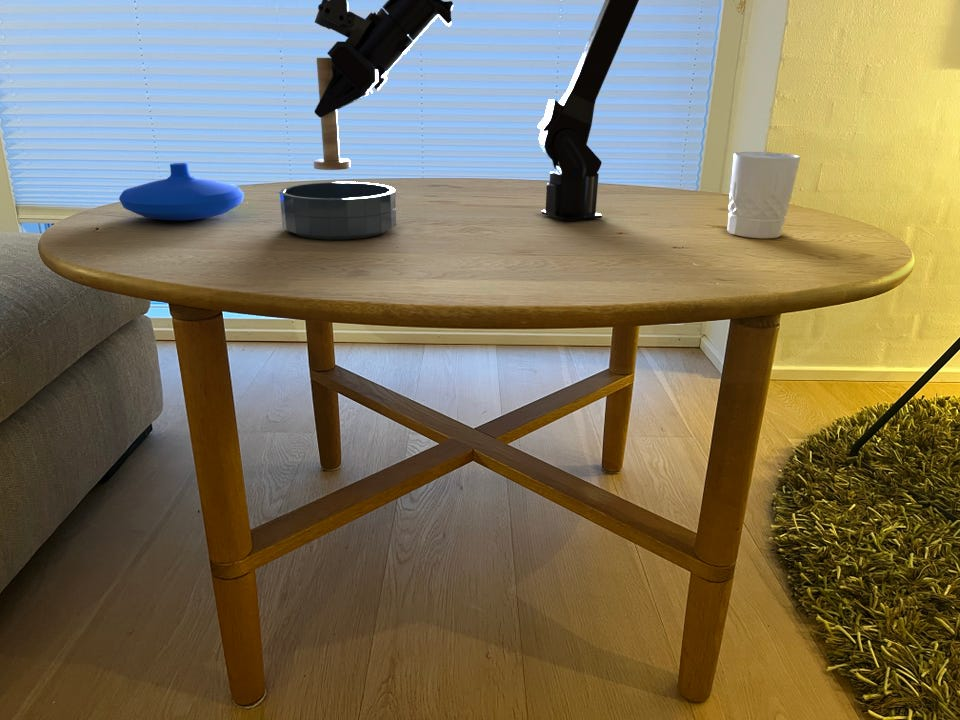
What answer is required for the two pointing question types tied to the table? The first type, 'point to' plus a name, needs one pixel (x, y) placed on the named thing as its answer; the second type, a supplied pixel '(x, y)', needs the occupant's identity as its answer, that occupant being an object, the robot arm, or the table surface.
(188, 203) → the vase
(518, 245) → the table surface
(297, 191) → the bowl
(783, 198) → the white cup
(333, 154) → the stirring stick
